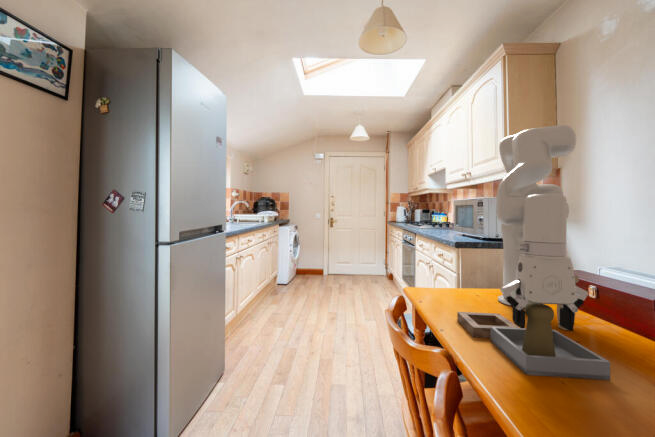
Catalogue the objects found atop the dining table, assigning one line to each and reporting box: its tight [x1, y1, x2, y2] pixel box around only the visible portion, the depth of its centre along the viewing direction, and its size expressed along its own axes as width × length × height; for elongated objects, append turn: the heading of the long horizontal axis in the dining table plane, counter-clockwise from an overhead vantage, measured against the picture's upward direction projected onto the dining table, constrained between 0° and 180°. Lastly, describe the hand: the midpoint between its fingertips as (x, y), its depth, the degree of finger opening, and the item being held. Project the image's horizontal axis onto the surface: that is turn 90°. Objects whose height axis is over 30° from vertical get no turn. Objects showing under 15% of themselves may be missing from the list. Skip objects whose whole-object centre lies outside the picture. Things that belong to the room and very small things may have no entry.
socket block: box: [456, 311, 520, 339], centre depth 77 cm, size 12×12×2 cm
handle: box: [556, 274, 580, 332], centre depth 77 cm, size 5×6×15 cm
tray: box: [489, 327, 611, 381], centre depth 61 cm, size 15×15×4 cm
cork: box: [522, 303, 556, 357], centre depth 62 cm, size 6×6×11 cm
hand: (542, 327), depth 61 cm, fingers open, 9 cm apart
